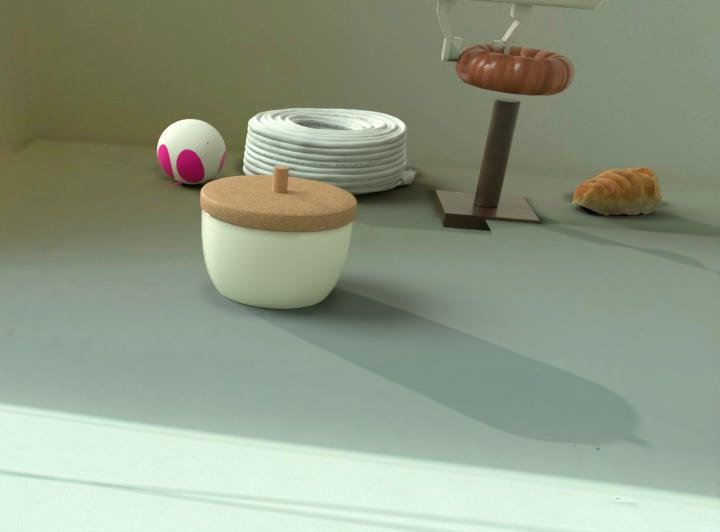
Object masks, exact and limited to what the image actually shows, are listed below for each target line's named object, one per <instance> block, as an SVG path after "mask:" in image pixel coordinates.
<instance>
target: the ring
mask: <svg viewBox="0 0 720 532" xmlns="http://www.w3.org/2000/svg"><path fill="white" fill-rule="evenodd" d="M491 44H492V43H477V44H471V45H468V46H466V47H464V48H462V49H461V50H460V51H459V52H460V59H459V62H454V66H455V72H456V75H457V76H458V78H459V79H460V80H461V81H462V82H463V83H464V84H466V85H469V86H472V87H475V88H479V89H481V90H486V91H491V92H497V93H503V94H509V95H521V96H531V97H532V96H533V97H534V96H537V97H538V96H539V97H540V96H542V97H543V96H544V97H545V96H553V95H557V94H560V93H562V92H565V91H566V90H567V89H568V88H569V87H570V86H571V85H572V83H573V81H574V78H575V74H576V73H575V72H576V71H575V66H574V64H573V62H572V61H571V59H569V58H567V57H566V56H564V55H563V54H560V53H557V52H554V51H549V50H545V49H540V48H535V47H534V48H533V47H528V46H519V45H511V48H510V53H509V55H506V54H500V53H494V52H492V51H491Z"/></svg>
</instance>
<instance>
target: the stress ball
mask: <svg viewBox="0 0 720 532" xmlns="http://www.w3.org/2000/svg"><path fill="white" fill-rule="evenodd" d="M158 136H159V139H158V142H157V148H156V155H157V160H158V162H159V165H160V167H161V168H162V170H163V172H164V173H166V175H167V176H169V177H170V178H171V179H173V180H175V181H177V182H176V183H173V184H170V185H167V186H166V188H169V187H172V186H177V185H181V184H185V185H201V184H204V183H208V182H210V181H212V179H214V178H215V177H217V175H218V174H219V173H220V172H221V171H222V169H223V167H224V165H225V162H226V156H227V149H226V144H225V140H224V139H223V137H222V135H221V134H220V132H219V131H218V130H217V129H216V128H215V127H214V126H213V125H211V124H209V123H208V122H206V121H203V120H201V119H194V118H187V119H180V120H178V121H176V122H174V123H172V124H170V125H169V126H167V128H166V129H165V130H164V131H163V132H162V133H161V134H158Z"/></svg>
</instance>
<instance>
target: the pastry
mask: <svg viewBox="0 0 720 532" xmlns="http://www.w3.org/2000/svg"><path fill="white" fill-rule="evenodd" d="M658 176H659V175H657V174H656V172H654V171H653V170H652V169H651V168H648V167H645V166H643V167H636V168H633V167H628V168H627V169H622V168H621V169H620V168H615V169H611V170H610V169H609V170H605V171H602V172H599V174H597V175H596V176H595V177H593V178H589V179H587V180H586V181H584V182H583V183H581V184H580V185H579V186H577V187H576V188H575V189H574V191H573V198H572V202H571V205H574V204H575V205H578V206H580V207H583V208H585V209H589V210H591V211H593V212H596V213H598V215H599V216H600V215H603V216H609V215H617V216H621V215H628V216H635V215H636V216H637V215H639V214H643V215H649V214H651V213H653V212H654V211H655V210H656V209H657V208H658V207H660V206H661V204H662V201H663V197H662V194H661V190H662V189H661V186H660V183H659V177H658Z"/></svg>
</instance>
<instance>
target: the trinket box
mask: <svg viewBox="0 0 720 532" xmlns="http://www.w3.org/2000/svg"><path fill="white" fill-rule="evenodd" d="M288 174H289V167H286V166H274V170H273V175H245V174H244V175H235V176H227V177H222V178H217V179H214V180H210V181H208V182H206V184H204V185H203V187H202V188H201V189H200V197H199V200H200V203H199V204H200V207H201V245H202V253H203V259H204V265H205V267H206V270H207V273H208V276H209V278H210V280H211V282H212V284H213V286H214V287H215V289H216V290H217V291H218V293H220V295H222V296H223V297H224V298H227V299H229V300H230V301H233V302H236V303H239V304H243V305H246V306H250V307H256V308H264V309H275V310H276V309H277V310H281V309H282V310H284V309H285V310H287V309H289V310H290V309H300V308H301V309H302V308H307V307H312V306H314V305H317V304H319V303H321V302H322V301H324V300H325V299H326V298H327V297H328V296H329V295H330V294H331V292H332V291H333V290H334V288H335V287H336V285H337V283H338V281H339V280H340V278H341V276H342V274H343V272H344V271H343V270H344V268H345V266H346V263H347V258H348V254H349V250H350V246H351V239H352V234H353V226H354V220H355V219H356V215H357V210H358V201H357V198H356V197H355V195H352V194H351V193H349V192H347V191H345V190H343V189H341V188H339V187H336V186H333V185H330V184H327V183H323V182H318V181H314V180H308V179H303V178H295V177H288Z"/></svg>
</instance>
